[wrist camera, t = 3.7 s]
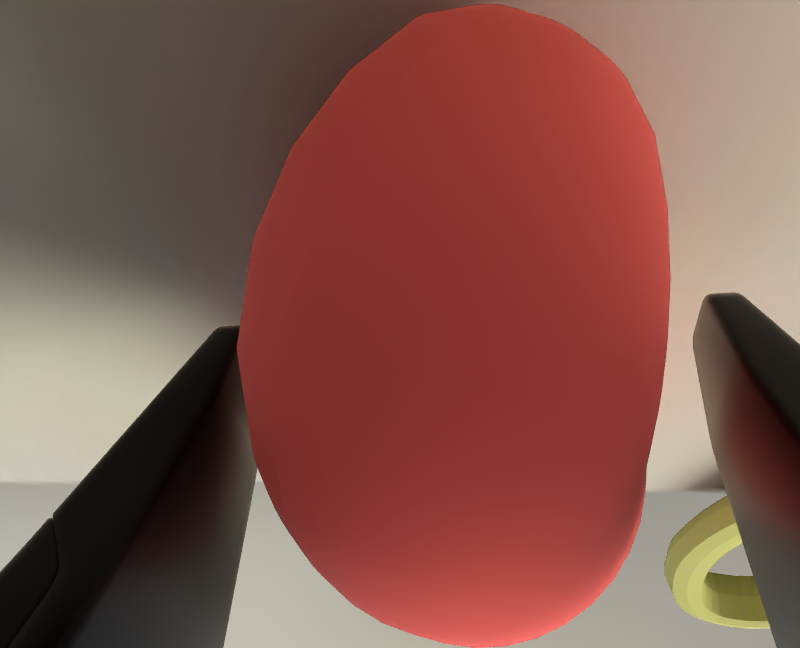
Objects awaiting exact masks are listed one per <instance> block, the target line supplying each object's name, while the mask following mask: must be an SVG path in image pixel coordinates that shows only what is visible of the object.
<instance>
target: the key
mask: <svg viewBox="0 0 800 648" xmlns="http://www.w3.org/2000/svg"><path fill="white" fill-rule="evenodd" d="M741 543H743V542H742V539H741V536H740V533H739V530H738V527H737V524H736V521H735V518H734V515H733V511H732V508H731V505H730V502H729V499H728V496H726V497H724V498H722V499H721V500H719V501H717V502H716V503H714V504H713V505H711V506H709V507H708V508H706V509H705V510H703V511H702V512H701V513H699V514H698V515H697V516H696V517H694V518H693V519H692V520H691V521H690V522H688V524H686V525H685V526H684V527H683V528H682V529H681V530H680V531H679V532H678V533H677V534H676V535H675V537H674V538H673V539H672V541H671V544H670V546H669V548H668V552H667V557H666V561H665V577H666V579H667V582H668V584H669V587H670V589H671V591H672V594H673V596H674V598H675V601H676V602H677V603H678V604H679V606H680V607H681V608H682V609H683V610H684V611H686V612H687V613H689V614H690V615H692V616H694V617H696V618H699V619H702V620H705V621H708V622H711V623H715V624H720V625H724V626H728V627H738V628H757V629H766V628H770V625H769V622H768V619H767V616H766V613H765V610H764V607H763V604H762V601H761V598H760V595H759V591H758V588H757V585H756V582H755V579H754V576H732V575H724V574H717V573H711V572H708V571H709V570H710V569H711V567H712V566H713V565H714V564H715V563H716V562H717V561H718V560H719V559H720V558H721V557H722V556H723V555H724V554H726V553H727V552H729V551H730V550H732V549H733V548H735V547H736V546H738V545H740V544H741Z"/></svg>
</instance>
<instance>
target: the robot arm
mask: <svg viewBox="0 0 800 648" xmlns="http://www.w3.org/2000/svg"><path fill="white" fill-rule="evenodd" d="M239 329H240V326H225V327H219V328H217V329H216V330H215V331H214V332H213V333H212V334H211V335H210V336H209V337H208V338H207V340H206V341H205V342H204V343H203V344H202V345H201V346H200V347H199V349H198V350H197V351H196V352H195V353H194V354H193V355H192V357H191V358H190V359H189V360H188V361H187V362H186V363H185V365H184V366H183V367H182V368H181V369H180V370H179V371H178V372H177V374H176V375H175V376H174V377H173V378H172V379H171V380H170V382H169V383H168V384H167V385H166V386H165V387H164V388H163V389H162V391H161V392H160V393H159V394H158V395H157V396H156V397H155V399H154V400H153V401H152V402H151V403H150V404H149V405H148V406H147V408H146V409H145V410H144V411H143V412H142V413H141V414H140V416H139V417H138V418H137V419H136V420H135V421H134V422H133V423H132V425H131V426H130V427H129V428H128V429H127V430H126V431H125V433H124V434H123V435H122V436H121V437H120V438H119V439H118V441H117V442H116V443H115V444H114V445H113V446H112V447H111V448H110V450H109V451H108V452H107V453H106V454H105V455H104V456H103V458H102V459H101V460H100V461H99V462H98V463H97V464H96V465H95V467H94V468H93V469H92V470H91V471H90V472H89V473H88V475H87V476H86V477H85V478H84V479H83V480H82V481H81V482H80V484H79V485H78V486H77V487H76V488H75V489H74V491H73V492H72V493H71V494H70V495H69V496H68V497H67V498H66V499H65V501H64V502H63V503H62V504H61V505H60V507H58V509H57V510H56V511H55V512H54V514H53V518H49V519H48V520H47V521H46V522H45V523H44V524H43V525H42V526H41V528H40V529H39V530H38V531H37V532H36V533H35V535H33V537H32V538H31V539H30V540H29V541H28V542H27V543H26V545H25V546H24V547H23V548H22V549H21V550H20V551H19V552H18V553H17V554H16V555H15V556H14V558H13V559H12V560H11V561H10V562H9V563H8V564H7V565H6V566H5V567H4V569H2V571H1V572H0V648H223V646H224V641H225V636H226V631H227V625H228V620H229V615H230V610H231V604H232V599H233V594H234V589H235V584H236V578H237V573H238V568H239V563H240V557H241V552H242V547H243V541H244V536H245V531H246V526H247V521H248V516H249V510H250V505H251V500H252V494H253V489H254V484H255V479H256V473H257V465H256V462H255V459H254V457H253V453H252V446H251V440H250V433H249V427H248V420H247V414H246V407H245V401H244V394H243V388H242V381H241V375H240V368H239V361H238V355H237V343H238V336H239ZM693 350H694V355H695V361H696V366H697V371H698V377H699V382H700V387H701V392H702V398H703V403H704V408H705V414H706V419H707V424H708V429H709V434H710V439H711V444H712V448H713V452H714V455H715V459H716V462H717V465H718V468H719V471H720V475H721V478H722V481H723V484H724V487H725V490H726V493H727V496H728V499H729V502H730V505H731V508H732V511H733V515H734V518H735V521H736V524H737V527H738V530H739V533H740V536H741V539H742V542H743V545H744V548H745V551H746V555H747V557H748V560H749V564H750V567H751V570H752V572H753V576H754V579H755V582H756V585H757V588H758V591H759V595H760V598H761V601H762V604H763V607H764V610H765V613H766V616H767V619H768V622H769V625H770V628H771V631H772V635H773V637H774V640H775V644H776V647H777V648H800V344H799V343H798V342H796V341H795V340H794V339H793V338H792V337H791V336H789V335H788V334H787V333H786V332H785V331H784V330H782V329H781V328H780V327H779V326H778V325H777V324H775V323H774V322H773V321H772V320H771V319H770V318H768V317H767V316H766V315H765V314H764V313H763V312H761V311H760V310H759V309H758V308H757V307H756V306H754V305H753V304H752V303H751V302H750V301H749V300H747V299H746V298H745V297H744V296H742V295H741V294H739V293H718V294H709V295H707V296H706V297H705V298H704V300H703V302H702V306H701V309H700V313H699V316H698V320H697V323H696V327H695V330H694V334H693Z"/></svg>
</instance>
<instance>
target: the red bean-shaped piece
mask: <svg viewBox="0 0 800 648" xmlns="http://www.w3.org/2000/svg"><path fill="white" fill-rule="evenodd" d="M669 299H670V256H669V233H668V209H667V202H666V196H665V190H664V184H663V179H662V173H661V167H660V161H659V155H658V150H657V144H656V138H655V133H654V131H653V130H652V128H651V126H650V124H649V122H648V120H647V118H646V116H645V114H644V112H643V110H642V108H641V106H640V104H639V102H638V100H637V98H636V96H635V94H634V92H633V90H632V88H631V86H630V84H629V82H628V80H627V78H626V77H625V76H624V74H623V73H622V72H621V70H620V69H619V68H618V67H617V66H616V65H615V64H614V63H613V62H612V61H611V60H610V59H609V58H607V57H606V56H605V55H604V54H603V53H601V52H600V51H599V50H598V49H597V48H595V47H594V46H593V45H592V44H590V43H589V42H588V41H586V40H585V39H584V38H583V37H581V36H580V35H579V34H577V33H576V32H574V31H573V30H571V29H570V28H568V27H566V26H564V25H562V24H560V23H558V22H556V21H554V20H551V19H548V18H545V17H542V16H539V15H536V14H533V13H529V12H526V11H523V10H520V9H516V8H512V7H508V6H504V5H496V4H478V5H472V6H466V7H460V8H455V9H449V10H443V11H437V12H431V13H426V14H422V15H419V16H417V17H416V18H415V19H413V20H412V21H411V22H410V23H408V24H407V25H406V26H405V27H403V28H402V29H401V30H400V31H398V32H397V33H396V34H395V35H393V36H392V37H391V38H390V39H388V40H387V41H386V42H384V43H383V44H382V45H381V46H379V47H378V48H377V49H376V50H374V51H373V52H372V53H370V54H369V55H368V56H367V57H365V58H364V59H363V60H362V61H360V62H359V63H358V64H356V65H355V66H354V67H353V68H351V69H350V70H349V71H348V72H347V74H346V75H345V76H344V78H343V79H342V80H341V82H340V83H339V84H338V86H337V87H336V88H335V90H334V91H333V92H332V94H331V95H330V96H329V98H328V99H327V100H326V102H325V103H324V104H323V106H322V107H321V108H320V110H319V111H318V112H317V114H316V115H315V116H314V118H313V119H312V120H311V122H310V123H309V124H308V126H307V127H306V128H305V130H304V131H303V132H302V134H301V135H300V136H299V138H298V139H297V140H296V142H295V143H294V145H293V146H292V148H291V150H290V152H289V155H288V157H287V160H286V162H285V164H284V167H283V169H282V171H281V174H280V176H279V178H278V181H277V183H276V186H275V188H274V190H273V193H272V195H271V197H270V200H269V202H268V204H267V207H266V209H265V212H264V214H263V216H262V219H261V221H260V223H259V226H258V228H257V231H256V233H255V235H254V238H253V243H252V248H251V253H250V260H249V267H248V274H247V281H246V288H245V295H244V302H243V308H242V315H241V322H240V329H239V336H238V343H237V355H238V361H239V368H240V375H241V381H242V388H243V394H244V401H245V407H246V414H247V420H248V427H249V433H250V440H251V446H252V453H253V457H254V459H255V462H256V465H257V467H258V470H259V472H260V475H261V477H262V480H263V482H264V484H265V487H266V489H267V492H268V494H269V497H270V499H271V501H272V503H273V505H274V508H275V510H276V511H277V513H278V515H279V517H280V519H281V520H282V522H283V524H284V525H285V527H286V528H287V530H288V532H289V533H290V534H291V536H292V537H293V539H294V540H295V542H296V543H297V544H298V546H299V547H300V549H301V550H302V552H303V553H304V555H305V556H306V557H307V558H308V560H309V561H310V563H311V564H312V565H313V566H314V567H315V569H316V570H317V571H318V572H319V573H320V574H321V575H322V576H323V577H324V578H325V579H326V580H327V581H328V582H329V583H330V584H331V585H332V586H334V587H335V588H336V589H337V590H338V591H339V592H340V593H341V594H342V595H343V596H344V597H345V598H346V599H347V600H348V601H350V602H351V603H352V604H353V605H354V606H356V607H358V608H360V609H361V610H362V611H364V612H366V613H367V614H369V615H370V616H372V617H374V618H375V619H377V620H378V621H380V622H382V623H384V624H386V625H389V626H392V627H395V628H397V629H400V630H403V631H405V632H408V633H411V634H414V635H417V636H420V637H424V638H428V639H431V640H435V641H438V642H442V643H445V644H452V645H458V646H465V647H472V648H484V647H502V646H509V645H512V644H516V643H520V642H524V641H528V640H532V639H535V638H538V637H540V636H542V635H544V634H546V633H548V632H550V631H552V630H554V629H557V628H558V627H561V626H563V625H565V624H566V623H567V622H569V621H570V620H571V619H573V618H574V617H575V616H577V615H578V614H579V613H580V612H582V611H583V610H585V609H586V608H587V607H589V606H590V605H591V604H592V603H593V602H594V601H595V600H596V599H597V598H598V597H599V596H600V594H601V593H602V592H603V591H604V590H605V588H606V587H607V586H608V585H609V584H610V583H611V582H612V581H613V579H614V578H615V577H616V575H617V573H618V571H619V570H620V568H621V566H622V564H623V562H624V561H625V559H626V557H627V556H628V554H629V552H630V549H631V546H632V544H633V541H634V538H635V536H636V533H637V530H638V527H639V525H640V521H641V515H642V509H643V503H644V497H645V490H646V469H647V462H648V458H649V453H650V448H651V444H652V439H653V434H654V430H655V425H656V420H657V416H658V411H659V405H660V398H661V392H662V385H663V376H664V368H665V359H666V351H667V339H668V322H669Z"/></svg>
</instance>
